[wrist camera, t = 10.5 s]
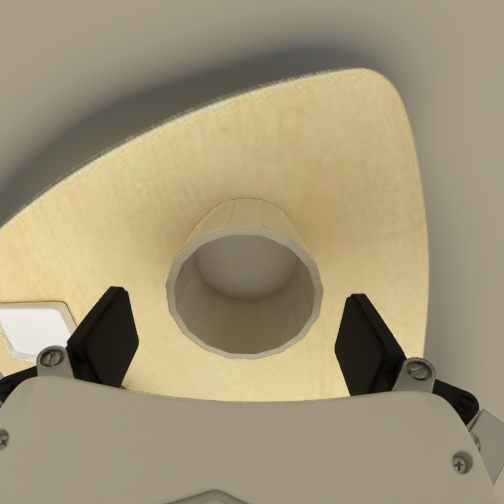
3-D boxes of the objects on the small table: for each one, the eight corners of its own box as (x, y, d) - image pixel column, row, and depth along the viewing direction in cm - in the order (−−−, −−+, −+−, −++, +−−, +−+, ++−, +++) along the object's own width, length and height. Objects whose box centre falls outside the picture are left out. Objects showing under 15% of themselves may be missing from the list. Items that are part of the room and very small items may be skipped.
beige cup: (306, 200, 17) (333, 229, 11) (295, 301, 19) (310, 359, 14) (189, 196, 17) (159, 224, 11) (194, 297, 19) (176, 354, 14)
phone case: (65, 300, 20) (-9, 302, 20) (57, 308, 18) (-16, 308, 19) (96, 363, 22) (17, 351, 23) (91, 371, 21) (11, 358, 22)
